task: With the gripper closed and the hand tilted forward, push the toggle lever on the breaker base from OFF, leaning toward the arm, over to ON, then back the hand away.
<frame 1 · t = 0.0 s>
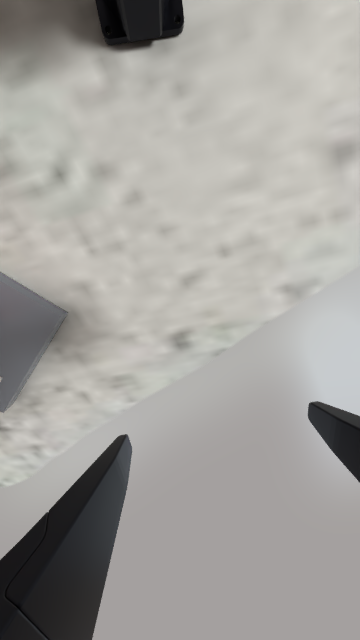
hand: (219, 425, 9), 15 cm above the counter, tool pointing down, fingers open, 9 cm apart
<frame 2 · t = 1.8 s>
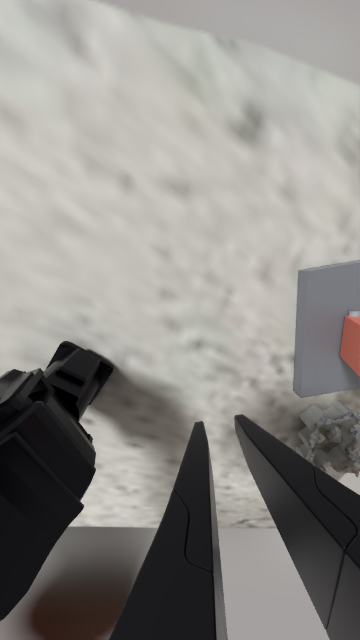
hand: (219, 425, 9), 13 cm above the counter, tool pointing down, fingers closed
grey lumpy stone piece: (316, 427, 28), on the counter
breaker base: (335, 330, 22), on the counter
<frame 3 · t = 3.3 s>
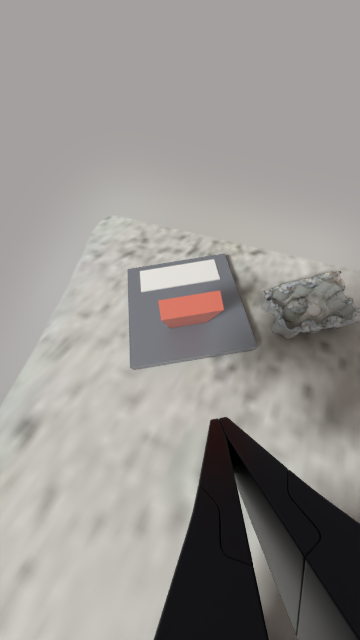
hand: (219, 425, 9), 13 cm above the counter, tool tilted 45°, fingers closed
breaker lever: (188, 314, 20), point 6 cm above the counter, hinge at -20.0°
grey lumpy stone piece: (300, 314, 26), on the counter
breaker base: (187, 325, 26), on the counter
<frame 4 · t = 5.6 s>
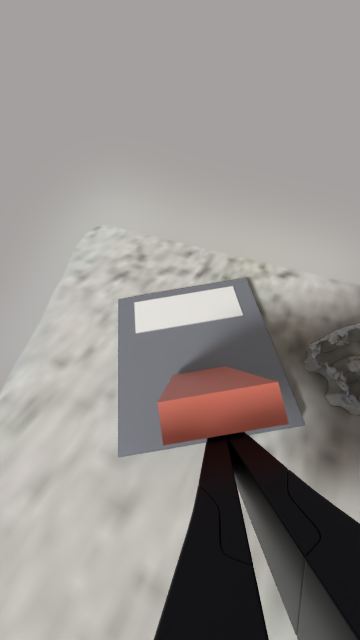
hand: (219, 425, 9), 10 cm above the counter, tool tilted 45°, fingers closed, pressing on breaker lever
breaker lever: (206, 388, 12), point 7 cm above the counter, hinge at -15.9°, touching gripper
grey lumpy stone piece: (357, 368, 19), on the counter
breaker base: (199, 382, 19), on the counter
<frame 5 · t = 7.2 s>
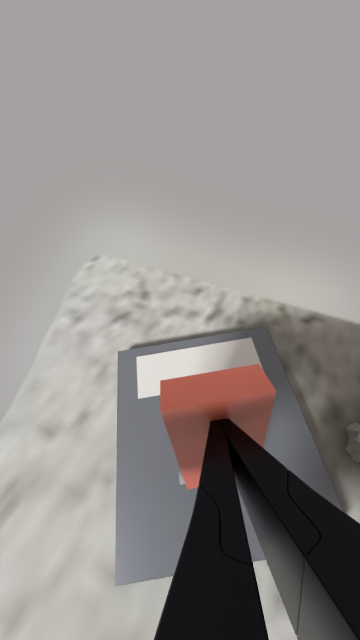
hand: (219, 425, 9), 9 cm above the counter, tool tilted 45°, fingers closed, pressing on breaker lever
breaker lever: (216, 439, 11), point 6 cm above the counter, hinge at 29.4°, touching gripper
breaker base: (215, 463, 16), on the counter
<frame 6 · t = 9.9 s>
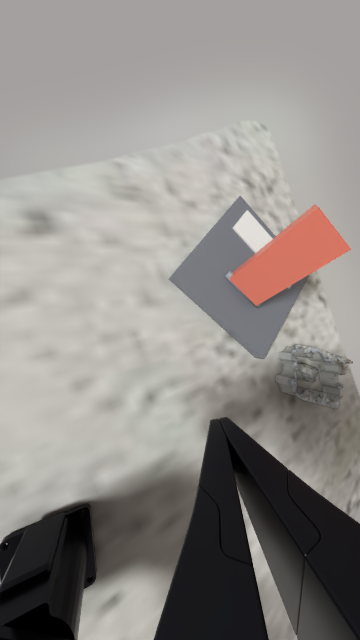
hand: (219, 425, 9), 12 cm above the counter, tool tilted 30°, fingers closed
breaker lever: (278, 264, 20), point 6 cm above the counter, hinge at 29.5°
grey lumpy stone piece: (299, 373, 28), on the counter
breaker base: (233, 293, 25), on the counter
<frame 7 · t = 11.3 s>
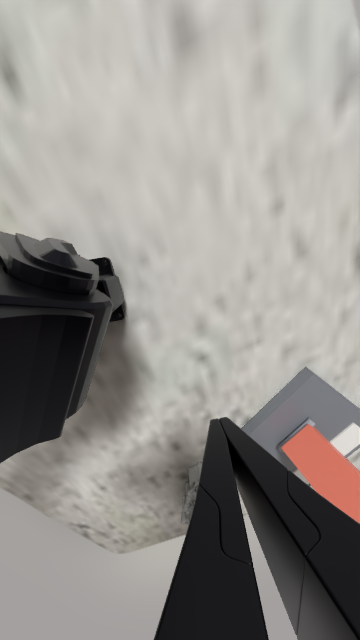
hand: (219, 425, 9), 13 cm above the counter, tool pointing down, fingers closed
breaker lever: (332, 475, 21), point 6 cm above the counter, hinge at 29.5°
grey lumpy stone piece: (204, 481, 30), on the counter
breaker base: (286, 423, 27), on the counter
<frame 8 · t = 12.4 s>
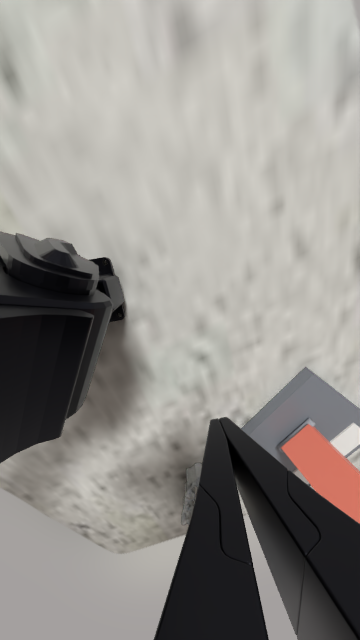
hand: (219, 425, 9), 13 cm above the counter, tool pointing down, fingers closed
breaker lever: (332, 476, 21), point 6 cm above the counter, hinge at 29.5°
grey lumpy stone piece: (203, 481, 30), on the counter
breaker base: (286, 423, 27), on the counter
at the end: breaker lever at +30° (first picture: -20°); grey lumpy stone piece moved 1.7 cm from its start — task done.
